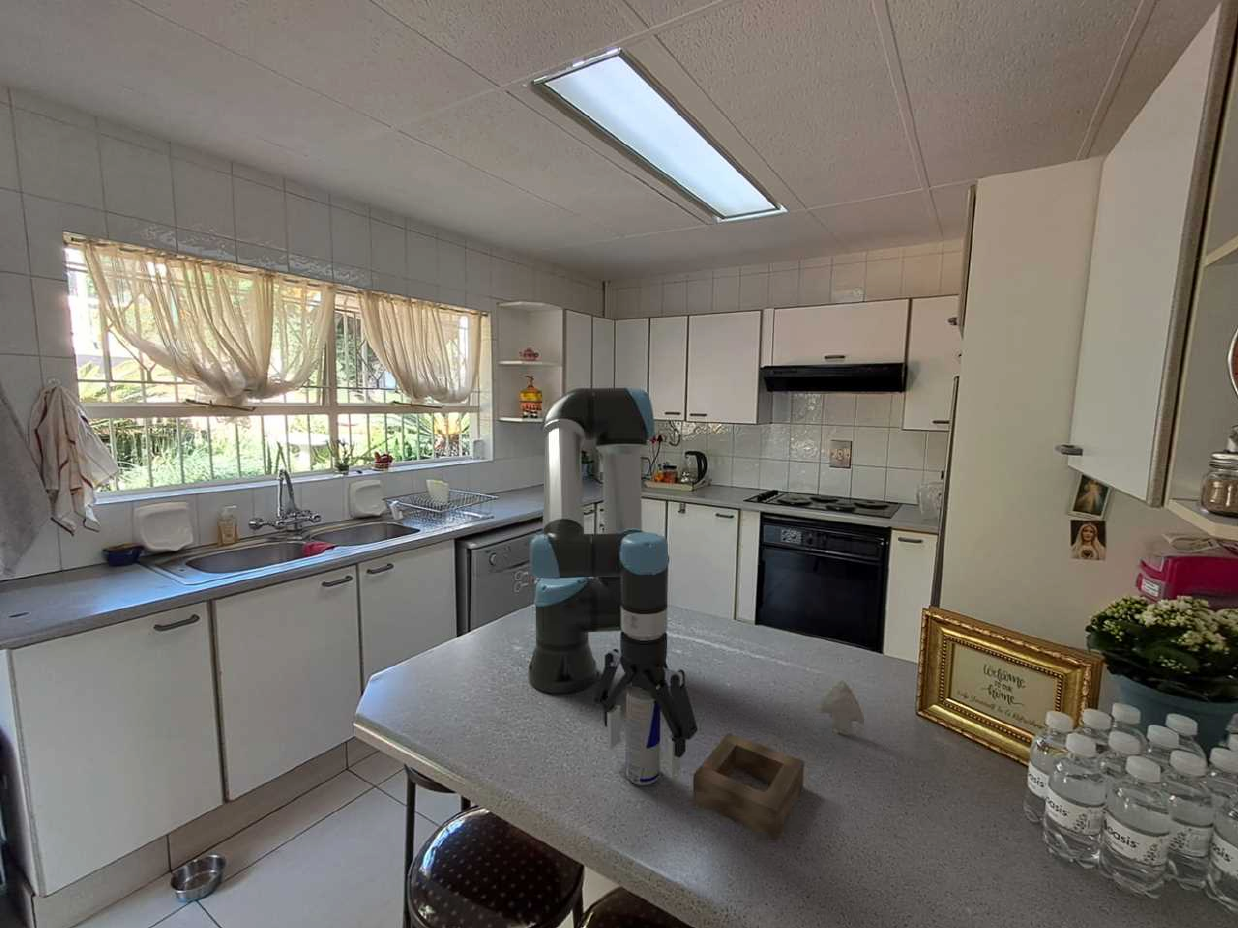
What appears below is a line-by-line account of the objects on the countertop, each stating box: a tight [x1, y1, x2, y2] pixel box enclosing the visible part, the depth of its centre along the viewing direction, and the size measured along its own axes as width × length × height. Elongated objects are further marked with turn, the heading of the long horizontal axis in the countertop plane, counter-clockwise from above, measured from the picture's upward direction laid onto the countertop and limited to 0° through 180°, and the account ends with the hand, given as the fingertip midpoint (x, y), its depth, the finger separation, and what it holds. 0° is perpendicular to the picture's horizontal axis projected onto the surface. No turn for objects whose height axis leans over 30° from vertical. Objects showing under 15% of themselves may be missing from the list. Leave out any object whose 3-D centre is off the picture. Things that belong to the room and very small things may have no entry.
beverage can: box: [625, 684, 661, 786], centre depth 90 cm, size 6×6×15 cm
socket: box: [692, 732, 805, 841], centre depth 86 cm, size 13×13×4 cm
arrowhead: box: [819, 680, 865, 737], centre depth 102 cm, size 8×3×10 cm, turn 54°
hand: (642, 758), depth 90 cm, fingers open, 11 cm apart
